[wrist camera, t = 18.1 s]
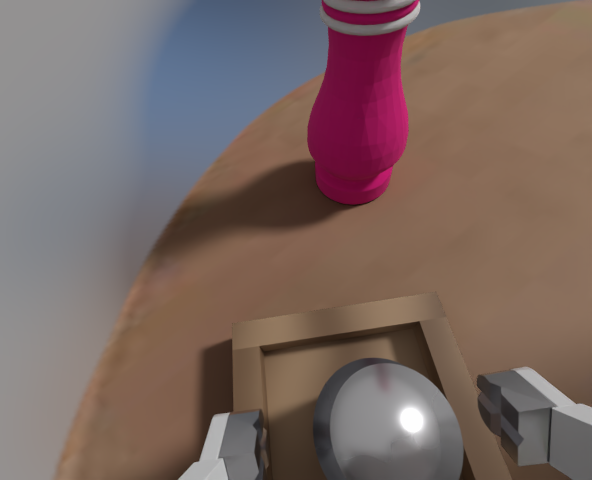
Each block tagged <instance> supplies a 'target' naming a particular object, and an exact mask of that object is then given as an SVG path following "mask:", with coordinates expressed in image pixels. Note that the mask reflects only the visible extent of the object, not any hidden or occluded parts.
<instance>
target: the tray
mask: <svg viewBox="0 0 592 480" xmlns="http://www.w3.org/2000/svg"><path fill="white" fill-rule="evenodd" d="M232 354H233V412H236V411H244V410H252V409H259V408H261V409H262V412H263V416H264V426H263V427H264V428H265V429H266V430H267V434H268V441H269V466H268V467H267V469H266V473H267V478H268V480H327V478H326V476H325V474H324V472H323V470H322V468H321V465H320V463H319V460H318V457H317V454H316V450H315V445H314V438H313V417H314V411H315V406H316V403H317V400H318V397H319V395H320V392H321V390H322V389H323V387H324V385H325V383H326V382H327V381H328V379H329V378H330V377H331V376H332V375H333V374H334V373H335V372H336V371H337V370H339V369H340V368H341V367H343V366H344V365H346V364H348V363H350V362H353V361H355V360H359V359H363V358H384V359H389V360H392V361H395V362H398V363H400V364H402V365H404V366H406V367H408V368H410V369H412V370H414V371H416V372H418V373H420V374H421V375H423V376H424V377H426V378H427V379H428V380H430V381H431V382H432V383H433V384H434V385H435V386H436V387H437V388H438V389H439V390H440V392H441V393H442V394H443V395H444V397H445V398H446V399H447V401H448V402H449V404H450V406H451V408H452V409H453V411H454V413H455V416H456V418H457V421H458V424H459V427H460V430H461V435H462V440H463V465H462V471H461V474H460V477H459V480H512V478H511V475H510V473H509V471H508V468H507V466H506V463H505V461H504V458H503V456H502V453H501V451H500V448H499V446H498V443H497V441H496V438H495V436H494V433H492V432H491V431H490V430H489V429H488V427H487V426H486V425H485V423H484V421H483V419H482V418H481V415H480V412H479V409H478V402H477V398H478V394H477V391H476V389H475V386H474V384H473V382H472V379H471V377H470V374H469V372H468V369H467V367H466V364H465V362H464V359H463V357H462V354H461V352H460V349H459V347H458V344H457V342H456V340H455V337H454V335H453V332H452V330H451V327H450V325H449V322H448V320H447V317H446V315H445V312H444V310H443V307H442V305H441V302H440V300H439V297H438V295H437V293H436V292H431V293H425V294H418V295H412V296H405V297H399V298H393V299H386V300H380V301H373V302H367V303H360V304H354V305H348V306H341V307H335V308H328V309H322V310H316V311H309V312H303V313H296V314H290V315H284V316H277V317H271V318H264V319H258V320H252V321H245V322H239V323H232Z"/></svg>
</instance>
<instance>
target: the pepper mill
mask: <svg viewBox="0 0 592 480" xmlns="http://www.w3.org/2000/svg"><path fill="white" fill-rule="evenodd" d="M419 11H420V2H419V0H322V5H321V7H320V17H321V19H322V21H323V22H324V23H325V24H326V25H327V26H328V36H329V49H328V61H327V68H326V72H325V76H324V80H323V83H322V85H321V88H320V91H319V93H318V96H317V98H316V100H315V103H314V105H313V108H312V111H311V114H310V119H309V123H308V138H307V142H308V148H309V151H310V154H311V156H312V157H313V159H314V160H315V173H316V182H317V185H318V187H319V189H320V190H321V191H322V192H323V193H324V194H325V195H326V196H327V197H329V198H330V199H332V200H334V201H337V202H339V203H343V204H351V205H353V204H363V203H366V202H369V201H372V200H374V199H376V198H377V197H379V196H380V195H381V194H382V193H383V192H384V191H385V190H386V188H387V187H388V184H389V181H390V177H391V173H392V168H393V165H394V164H395V163H396V162H397V161H398V160H399V158H400V157H401V156H402V154H403V152H404V150H405V146H406V142H407V136H408V131H409V130H408V111H407V107H406V102H405V98H404V94H403V88H402V82H401V66H400V64H401V55H402V46H403V41H404V38H405V34H406V30H407V26H408V25H409V24H410V23H411V22H412V21H414V19H415V18H416V17H417V16H418V14H419Z"/></svg>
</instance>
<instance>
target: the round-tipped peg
mask: <svg viewBox="0 0 592 480" xmlns="http://www.w3.org/2000/svg"><path fill="white" fill-rule="evenodd" d="M313 438H314V445H315V450H316V454H317V457H318V460H319V463H320V465H321V468H322V470H323V472H324V474H325V476H326V478H327V480H459V477H460V474H461V471H462V465H463V440H462V435H461V430H460V427H459V424H458V421H457V418H456V416H455V413H454V411H453V409H452V408H451V406H450V404H449V402H448V401H447V399H446V398H445V397H444V395H443V394H442V393H441V392H440V390H439V389H438V388H437V387H436V386H435V385H434V384H433V383H432V382H431V381H430V380H428V379H427V378H426V377H424V376H423V375H421V374H420V373H418V372H416V371H414V370H412V369H410V368H408V367H406V366H404V365H402V364H400V363H398V362H395V361H392V360H389V359H384V358H363V359H359V360H355V361H353V362H350V363H348V364H346V365H344V366H343V367H341V368H340V369H339V370H337V371H336V372H335V373H334V374H333V375H332V376H331V377H330V378H329V379H328V381H327V382H326V383H325V385H324V387H323V389H322V390H321V392H320V395H319V397H318V400H317V403H316V406H315V411H314V417H313Z"/></svg>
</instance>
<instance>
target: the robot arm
mask: <svg viewBox="0 0 592 480" xmlns="http://www.w3.org/2000/svg"><path fill="white" fill-rule="evenodd" d="M477 386H478V388H479V389H480V390H481V391H482V392H481V393H480V395H479V396H478V398H477V402H478V409H479V412H480V415H481V418H482V419H483V421H484V423H485V425H486V426H487V427H488V429H489V430H490V431H491V432H492V433H494V434H496V435H498V436H500V437H501V445H502V447H503V448H504V449H505V450H506V452H507V453H508V454H509V455H510V457H511V458H512V459H513V461H514V462H515V463H516V464H517V466H525V465H534V464H542V463H549V464H550V465H551V466H553V467H554V468H556V469H557V470H559V471H560V472H562V473H563V474H565V475H566V476H568V477H569V478H571V479H572V480H592V407H589V406H587V405H584V404H575V403H574V402H573V401H571V400H570V399H569V398H568V397H566V396H565V395H564V394H563V393H561V392H560V391H559V390H558V389H556V388H555V387H554V386H553V385H551V384H550V383H549V382H548V381H546V380H545V379H544V378H543V377H541V376H540V375H539V374H538V373H536V372H535V371H534V370H533V369H531V368H529V367H521V368H516V369H510V370H505V371H499V372H493V373H487V374H481V375H478V378H477ZM263 426H264V416H263V412H262V409H261V408H259V409H252V410H244V411H236V412H230V413H223V414H215V415H214V417H213V418H212V421H211V424H210V427H209V430H208V434H207V437H206V440H205V443H204V447H203V450H202V453H201V456H200V460H199V462H194V463H193V464H192V465H191V466H190V467H189V468H188V469H187V471H186V472H185V473H184V474H183V475H182V476H181V477H180V478H179V479H178V480H268V478H267V473H266V469H267V467H268V466H269V441H268V434H267V430H266V429H265V428H264V427H263Z"/></svg>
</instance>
